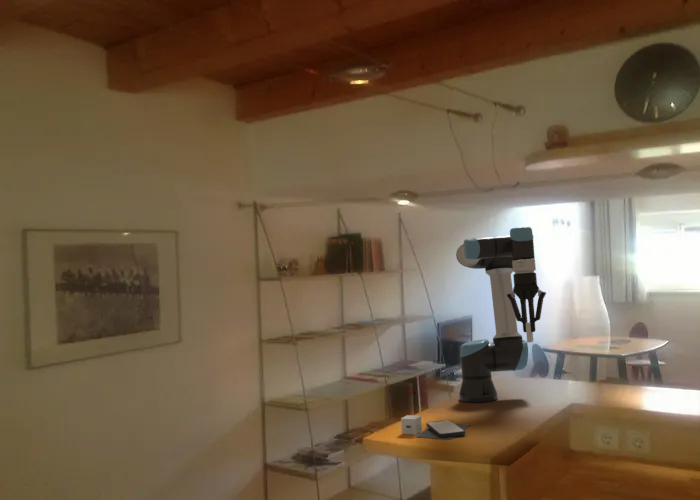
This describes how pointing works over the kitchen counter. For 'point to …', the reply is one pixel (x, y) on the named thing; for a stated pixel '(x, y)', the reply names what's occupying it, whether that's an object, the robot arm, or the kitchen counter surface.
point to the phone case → (445, 429)
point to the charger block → (411, 424)
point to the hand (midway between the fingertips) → (530, 341)
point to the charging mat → (430, 434)
